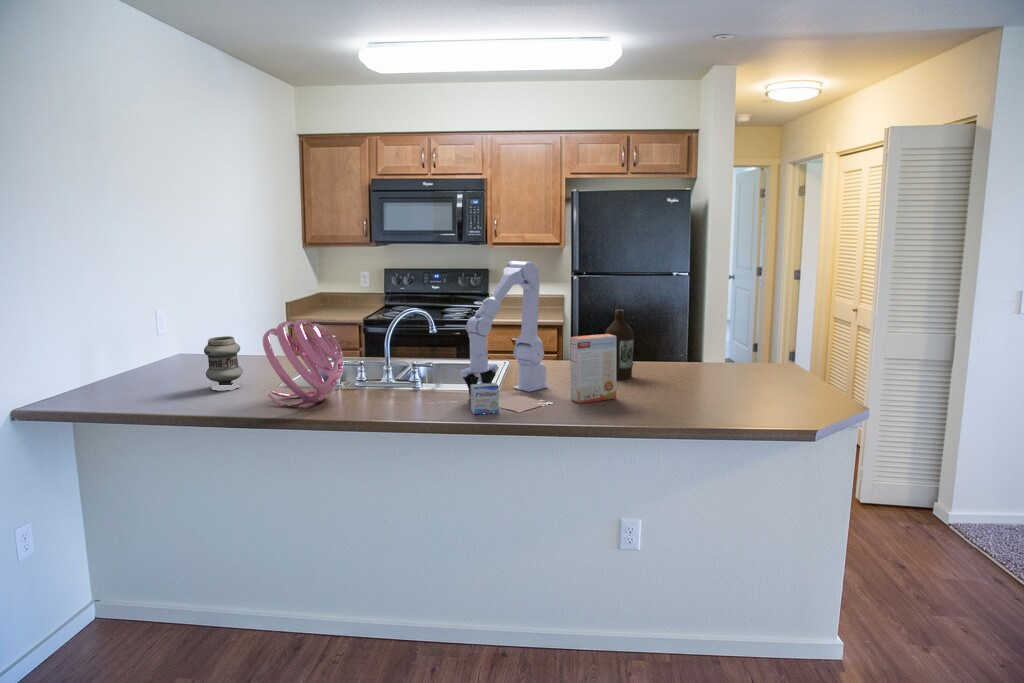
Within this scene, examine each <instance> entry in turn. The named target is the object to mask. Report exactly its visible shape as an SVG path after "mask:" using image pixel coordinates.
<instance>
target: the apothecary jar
mask: <svg viewBox="0 0 1024 683" xmlns="http://www.w3.org/2000/svg"><path fill="white" fill-rule="evenodd" d="M240 350H241V346H240V344H239V343H237V342H236V341H235V337H234V336H225V335H224V336H215V337H211V338H208V340H207V345H205V347H204V348H203V353H204V354H205V355H206V356H207V361H208V369H207V370H206V372H205V375H206V376H205V377H206V378H207V379H208V380H209V381H212V382H216V383H217V382H218V384H219V385H232V384H233V383H234V382H232V381H235V380H237V379H239V378H240V377H241V376H242V375H243V373H244V370H243V368H242V367H241V366H240V365H239V361H238V353H240Z"/></svg>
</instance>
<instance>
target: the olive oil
mask: <svg viewBox="0 0 1024 683" xmlns="http://www.w3.org/2000/svg"><path fill="white" fill-rule="evenodd" d="M614 312H615V313H614V321H612V323H611V324H610V325H609V326H608V327H607V328H606V330H605V333H604V334H611V335H614V336H616V338H617V339H616V381H624V380H625V381H626V380H630V379H632V376H633V372H632V371H633V366H634V362H633V358H634V346H635V345H634V343H635V342H634V341H635V334H634V331H633V329H632V327H630V325H629V324H628V323H627V322H626V321H625V309H615V310H614Z"/></svg>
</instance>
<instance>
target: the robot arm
mask: <svg viewBox="0 0 1024 683" xmlns="http://www.w3.org/2000/svg"><path fill="white" fill-rule="evenodd" d="M539 269H540V268H539V267H538V265H537V264H536V263H535V262H533V261H517V260H510V261H508V263H507V264H506V266H505V267H504V268H503V276H501V279H500V281H499V282H498V284H497V285H496V287H495V289H494V291H493V293H492V295H491V296H490V297H486V298H485V299H483V301H482V303H481V305H480V307H479V308H478V309H477V311H476V312H475V314H474V316H472V317H470V318H469V319H468V320H467V322H466V325H465V327H464V328H465V330H466V332H467V334H468V338H469V366H470V367H466V368H464V369H461V370H459V373H460V374H459V376H460V377H462V378H463V381H464V382H465V385H466V386H467V389H468V394H469V393H470V396H471V387H470V385H473V384H477V382H478V381H479V376H476V375H477V374H479V375H480V379H481V382H483V383H493V380H494V378H495V377H496V371H498V364H495V363H489V358H488V357H489V356H488V354H489V353H488V351H489V350H488V344H489V342H488V335H489V333H490V332H492V324H493V321H494V319H495V317H496V316H497V314H498V313H499V311H500V310H501V307H502V306H501V302H502V301H503V299H504V298H505V297H506V296H507V294H508V293H509V292H510V291H511V289H512V288H513V286H514V285H519V286H520V287H521V289H522V308H521V328H520V332H521V333H520V335H519V336H518V337H517V338H516V339H515V346H514V348H513V352H512V353H513V356H514V358H515V359H516V363H518V366H517V367H518V369H517V370H518V375H517V377H518V380H517V381H518V383H517V384H518V385H514V386H513V389H515V390H521V391H525V392H533V391H537V390H542V389H545V388H548V385H547V371H546V369H547V368H546V366H545V363H543V362H542V361H543V359H544V356H545V350H544V346H543V343H544V342H543V341H542V339H541V338H540V337H539V336H538V325H539V324H538V322H539V321H538V320H539V306H540V305H539V304H540V280H539V273H540V272H539V271H540V270H539ZM488 363H489V364H488Z"/></svg>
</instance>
